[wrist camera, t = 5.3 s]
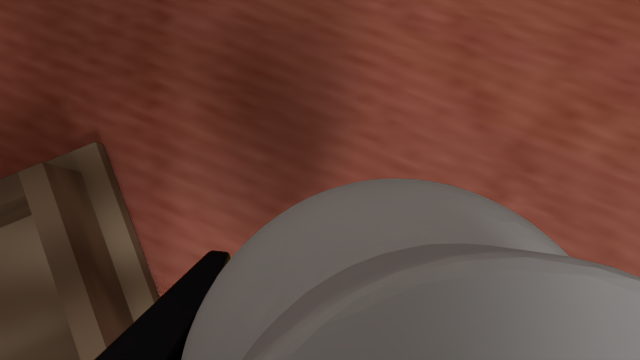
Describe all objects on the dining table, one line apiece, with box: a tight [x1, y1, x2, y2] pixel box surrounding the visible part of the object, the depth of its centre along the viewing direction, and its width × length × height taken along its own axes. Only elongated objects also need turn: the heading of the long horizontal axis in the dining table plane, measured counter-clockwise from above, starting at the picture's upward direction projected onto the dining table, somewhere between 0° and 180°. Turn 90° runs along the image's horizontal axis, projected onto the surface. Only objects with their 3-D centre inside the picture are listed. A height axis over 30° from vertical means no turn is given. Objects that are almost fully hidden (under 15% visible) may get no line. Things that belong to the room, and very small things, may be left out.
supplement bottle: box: [181, 178, 640, 360], centre depth 8 cm, size 7×7×13 cm
